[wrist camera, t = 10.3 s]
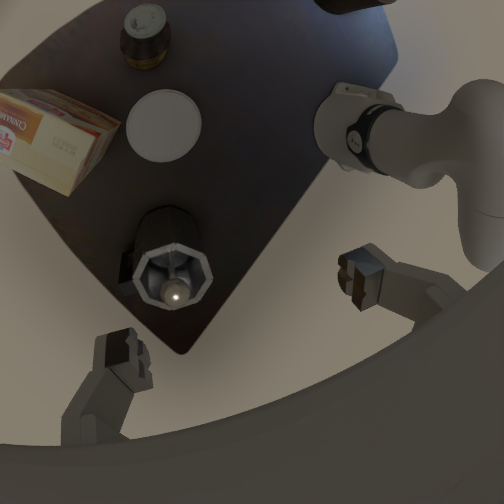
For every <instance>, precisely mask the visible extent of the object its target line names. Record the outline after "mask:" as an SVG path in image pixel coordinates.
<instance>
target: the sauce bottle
mask: <svg viewBox="0 0 504 504" xmlns="http://www.w3.org/2000/svg"><path fill="white" fill-rule="evenodd" d="M170 39H171V29H170V26H169V24H168V22H167V16H166V12H165V10H163V8H161V7H160V6H158V5H156V4H147V3H146V4H142V5H139V6H137V7H135V8H133V9H132V10H131V11H130V12H129V13H128V14H127V15H126V17H125V19H124V29H122V31H121V39H120V48H121V51H122V53H123V55H124V57H125V59H126V60H127V62H128V64H129V65H130V66H132V67H133V68H135V69H139V70H147V69H151V68H153V67H155V66H157V65H158V64H159V63H160V62H161V61H162V60H163V58H164V56H165V54H166V51H167V49H168V46H169V43H170Z"/></svg>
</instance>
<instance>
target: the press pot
mask: <svg viewBox="0 0 504 504" xmlns="http://www.w3.org/2000/svg"><path fill="white" fill-rule="evenodd" d="M172 250H178V251H180V252H183V253H185V254H188V255H189V257H188V259H187V260H186V261H185V262H184V263H183V264H181V265H179V266H177V267H175V272H176V278H180V279H182V280H184V281H185V282H186V283H187V285H188V286H189V289H190V296H189V299H188V301H187V302H186V303H185V304H184V305H183V306H181V307H185V306H188V305H191V304H194V303H197V302H198V301H200V300H201V298H202V297H203V295H204V293H205V292H206V290H207V289H208V287H209V286H210V284H211V283H212V281H213V276H212V273H211V270H210V267H209V264H208V261H207V258H206V255H205V252H204V249H203V246H202V243H201V240H200V237H199V234H198V230H197V226H196V223H195V221H194V218H193V217H192V216H191V215H190V214H189V213H188V212H186V211H185V210H183V209H181V208H178V207H175V206H162V207H158V208H156V209H153V210H152V211H150V212H149V213H147V214H146V215H145V216H144V218H143V219H142V220H141V222H140V224H139V227H138V231H137V234H136V238H135V248H134V249H132V250H129V251H126V252H124V253H122V258H121V265H120V273H119V281H118V285H119V287H120V289H121V290H122V292H123V294H124V296H127V295H131V294H134V293H137V292H139V293H140V295H141V297H142V299H143V301H145V303H148V304H151V305H155V306H158V307H161V308H164V309H167V310H171V309H172V310H175V309H178V308H181V307H177V308H174V307H170V306H168V305H166V304H165V303H164V302H163V300H162V298H161V295H160V290H161V286H162V284H163V283H164V282H165V281H166V280H168V279H169V271H168V268H163V267H160V266H157V265H156V264H154V263H153V262H152V261H151V260H150V258H152V257H154V256H157V255H160V254H163V253H166V252H169V251H172Z"/></svg>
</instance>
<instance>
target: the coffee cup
mask: <svg viewBox="0 0 504 504" xmlns="http://www.w3.org/2000/svg"><path fill="white" fill-rule="evenodd" d="M200 131H201V116H200V112H199V110H198V107H197V106H196V104H195V103H194V102H193V100H192V99H191V98H189V97H188V96H187V95H185V94H184V93H181V92H179V91H176V90H170V89H163V90H157V91H154V92H151V93H149V94H147V95H145V96H144V97H142V98H141V99H140V100H139V101H138V102H137V103H136V104H135V105H134V107H133V108H132V110H131V111H130V114H129V116H128V119H127V124H126V132H127V137H128V141H129V143H130V145H131V147H132V148H133V149H134V151H135V152H136V153H137V154H139V155H140V156H141V157H143V158H145V159H147V160H150V161H154V162H169V161H173V160H175V159H178V158H180V157H181V156H183V155H185V154H186V153H187V152H188V151H189V150H190V149H191V148H192V147H193V146H194V144H195V143H196V141H197V139H198V137H199V134H200Z"/></svg>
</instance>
